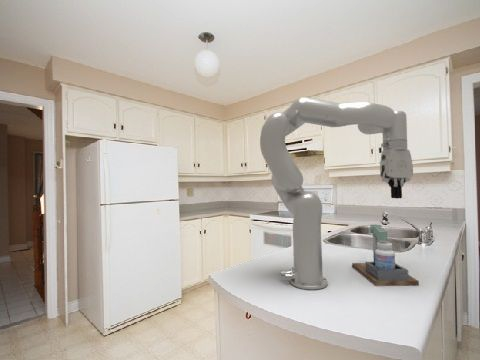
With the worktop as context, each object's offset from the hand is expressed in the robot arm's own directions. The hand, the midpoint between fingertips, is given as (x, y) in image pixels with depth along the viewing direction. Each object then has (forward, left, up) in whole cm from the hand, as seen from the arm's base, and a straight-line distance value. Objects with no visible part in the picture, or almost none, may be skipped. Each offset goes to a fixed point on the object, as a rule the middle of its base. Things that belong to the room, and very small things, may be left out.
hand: (396, 198), depth 93 cm
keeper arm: (-4, +5, -14) cm, 16 cm away
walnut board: (-5, +3, -28) cm, 29 cm away
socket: (-6, -2, -27) cm, 27 cm away
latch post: (-3, +11, -27) cm, 29 cm away
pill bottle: (-6, -2, -27) cm, 28 cm away
